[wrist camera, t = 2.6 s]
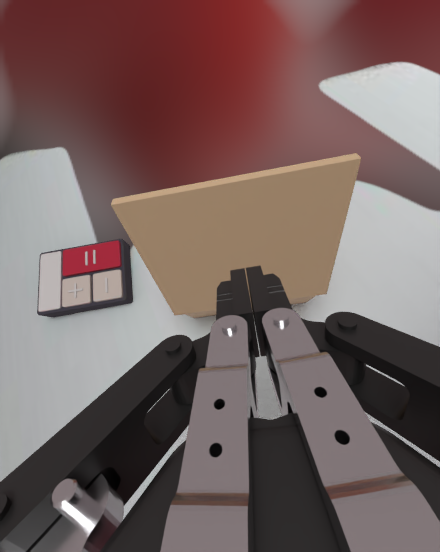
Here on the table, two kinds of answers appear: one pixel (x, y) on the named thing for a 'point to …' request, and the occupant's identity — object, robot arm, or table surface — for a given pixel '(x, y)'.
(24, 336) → the table surface
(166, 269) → the lid
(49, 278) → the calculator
